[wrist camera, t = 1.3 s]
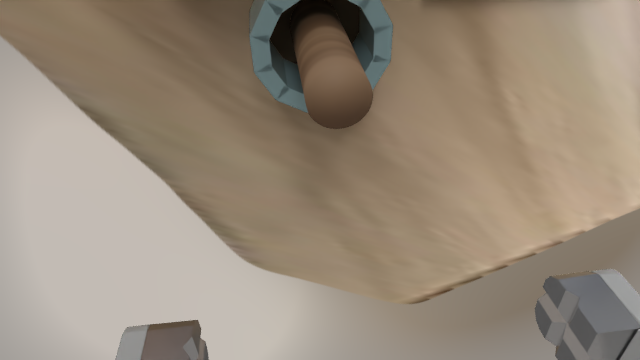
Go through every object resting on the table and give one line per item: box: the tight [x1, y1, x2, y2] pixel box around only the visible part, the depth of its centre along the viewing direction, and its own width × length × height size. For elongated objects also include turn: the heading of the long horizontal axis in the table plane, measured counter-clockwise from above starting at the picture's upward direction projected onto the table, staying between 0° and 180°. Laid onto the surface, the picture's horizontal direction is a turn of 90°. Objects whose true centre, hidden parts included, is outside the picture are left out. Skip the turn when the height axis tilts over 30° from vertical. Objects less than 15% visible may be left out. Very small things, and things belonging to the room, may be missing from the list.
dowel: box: [290, 0, 373, 129], centre depth 28 cm, size 4×4×12 cm
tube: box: [249, 0, 393, 112], centre depth 31 cm, size 9×9×5 cm
